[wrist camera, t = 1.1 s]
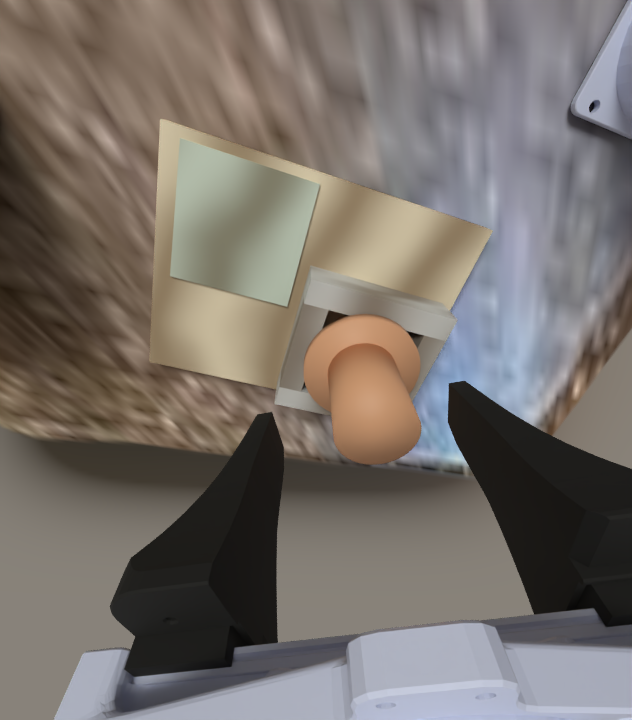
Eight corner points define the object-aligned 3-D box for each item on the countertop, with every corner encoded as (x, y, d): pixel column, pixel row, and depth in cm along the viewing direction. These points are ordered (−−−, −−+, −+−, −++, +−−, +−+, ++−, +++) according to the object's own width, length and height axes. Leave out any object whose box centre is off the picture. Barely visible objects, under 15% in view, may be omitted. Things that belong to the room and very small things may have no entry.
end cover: (423, 312, 21) (481, 392, 14) (382, 394, 25) (413, 492, 18) (320, 284, 20) (328, 355, 13) (292, 374, 24) (287, 470, 17)
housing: (483, 226, 20) (516, 240, 17) (390, 405, 27) (401, 438, 24) (169, 120, 17) (137, 113, 14) (155, 352, 24) (133, 383, 21)
